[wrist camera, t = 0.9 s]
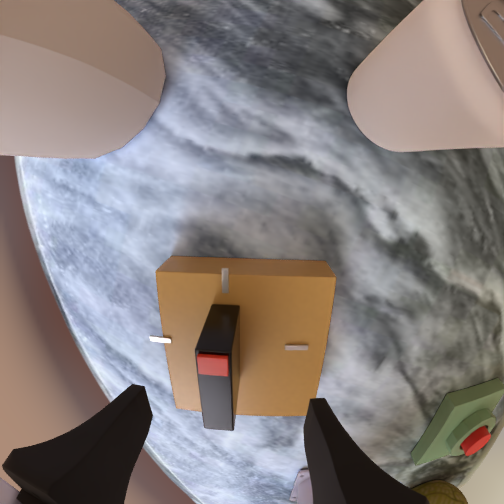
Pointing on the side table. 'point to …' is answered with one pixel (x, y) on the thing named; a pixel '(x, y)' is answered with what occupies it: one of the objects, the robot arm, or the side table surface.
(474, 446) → the button
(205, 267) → the brown panel
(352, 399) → the side table surface
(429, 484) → the decorative sculpture
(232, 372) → the black battery pack
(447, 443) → the button box
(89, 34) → the soap bottle
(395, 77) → the can
